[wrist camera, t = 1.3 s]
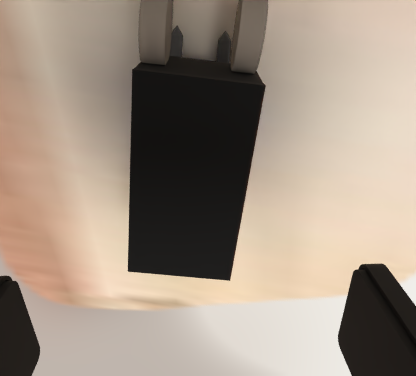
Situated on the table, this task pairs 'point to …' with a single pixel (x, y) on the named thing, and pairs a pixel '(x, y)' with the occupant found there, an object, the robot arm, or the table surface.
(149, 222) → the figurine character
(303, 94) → the table surface
